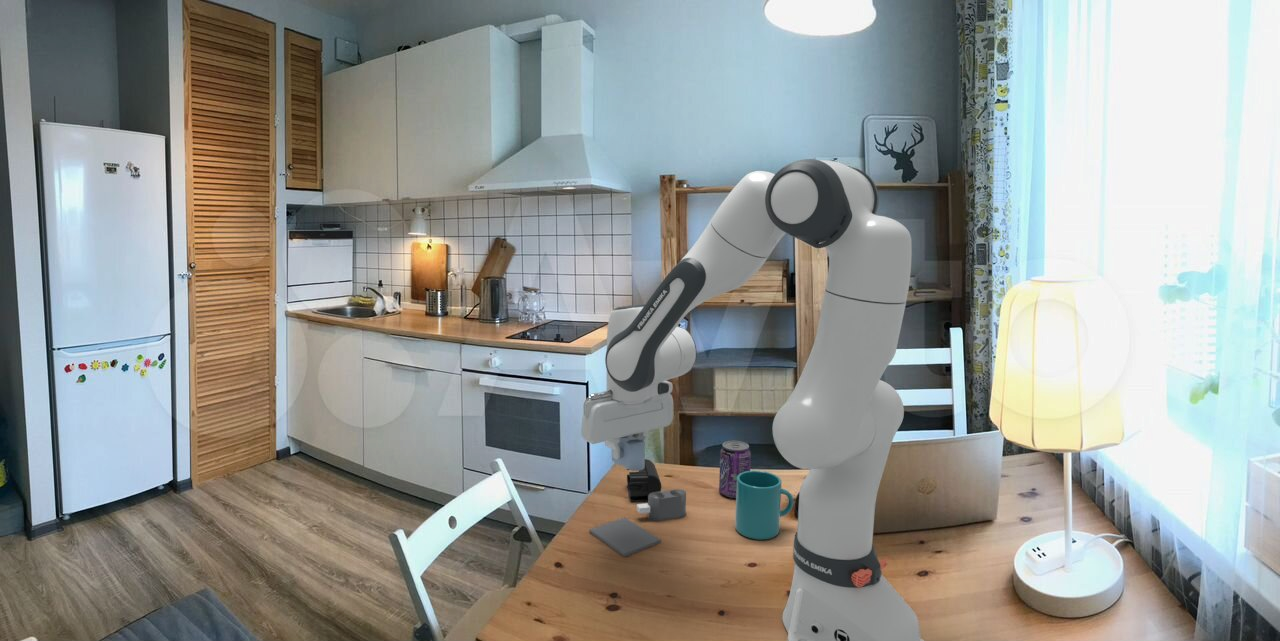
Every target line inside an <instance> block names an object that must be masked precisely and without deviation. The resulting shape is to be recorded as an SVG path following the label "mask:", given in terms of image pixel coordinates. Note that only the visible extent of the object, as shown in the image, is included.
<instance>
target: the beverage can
mask: <svg viewBox="0 0 1280 641" xmlns="http://www.w3.org/2000/svg"><path fill="white" fill-rule="evenodd" d="M721 445H722V448H721V449H720V451H719V455H720V456H719V478H718V479H719V482H718V484H719V485H718V489H719V490H718V491H719V493H720V494H721V495H724V496H725V497H727V498H731V499H736V485H737V476H738V475H739V474H740V473H742V472H746V471H751V458H752V457H751V456H752V454H751V450H750V445H749V444H748V443H747V442H744V441H741V440H740V441H739V440H728V441H725V442H723V443H722V444H721Z"/></svg>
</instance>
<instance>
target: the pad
mask: <svg viewBox="0 0 1280 641" xmlns="http://www.w3.org/2000/svg"><path fill="white" fill-rule="evenodd" d="M588 530H589V533H590V534H591V535H593V537H595V538H597V539H598V540H599V541H601V542H603V543H604V544H606V546H608V547H610V548H611V550H612V549H613V551H616V552H617V553H618V554H620V556H622V557H624V558H626V557H628V556H630V555H633V554H635V553H637V552H641V551H643V550H645V549H648V548H650V547H652V546H656V545H657V544H660V543H661V541H662V540H661V539H660V538H659V537H658V536H655V535H654V534H652V533H651V532H649V531H648V530H646V529H644V527H641V526H639V525H638V524H636V523H635V522H633V521H632V520H629V518H626V517H621V518H619V519H616V520H613V521H609V522H607V523H604V524H601V525H599V526H595V527H593V528H590V529H588Z"/></svg>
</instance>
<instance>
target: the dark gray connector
mask: <svg viewBox="0 0 1280 641" xmlns="http://www.w3.org/2000/svg"><path fill="white" fill-rule="evenodd" d="M686 509H687V492H686V491H685V490H684V489H669V490H661V491H660V492H653V493H650V494H649V495H648V502H643V503H638V504H636V511H637V512H638V514H640V515H641V514H647V518H648V520H649V521H652V522H662V521H663V522H664V521H669V520H675V519H682V518H685V517H686V511H687V510H686Z"/></svg>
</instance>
